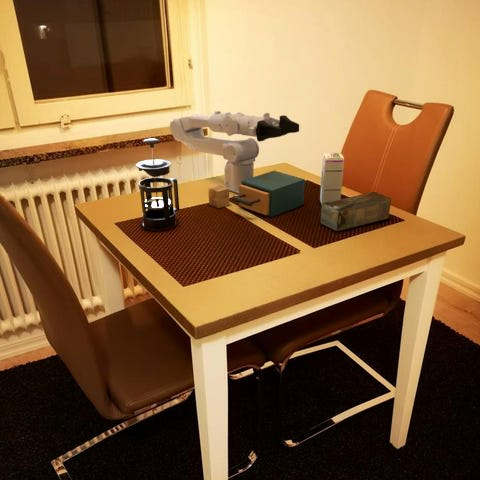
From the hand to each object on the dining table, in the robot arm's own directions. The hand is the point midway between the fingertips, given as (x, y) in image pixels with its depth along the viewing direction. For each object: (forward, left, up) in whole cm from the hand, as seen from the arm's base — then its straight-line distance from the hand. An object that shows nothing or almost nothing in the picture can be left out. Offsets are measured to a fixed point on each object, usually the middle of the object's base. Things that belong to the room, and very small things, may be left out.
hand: (289, 130), depth 139 cm
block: (-14, -15, -22) cm, 30 cm away
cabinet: (-2, -4, -22) cm, 22 cm away
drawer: (-2, -8, -21) cm, 23 cm away
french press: (-14, -37, -22) cm, 45 cm away
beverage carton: (+23, +3, -22) cm, 32 cm away
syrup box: (+9, +10, -22) cm, 26 cm away
